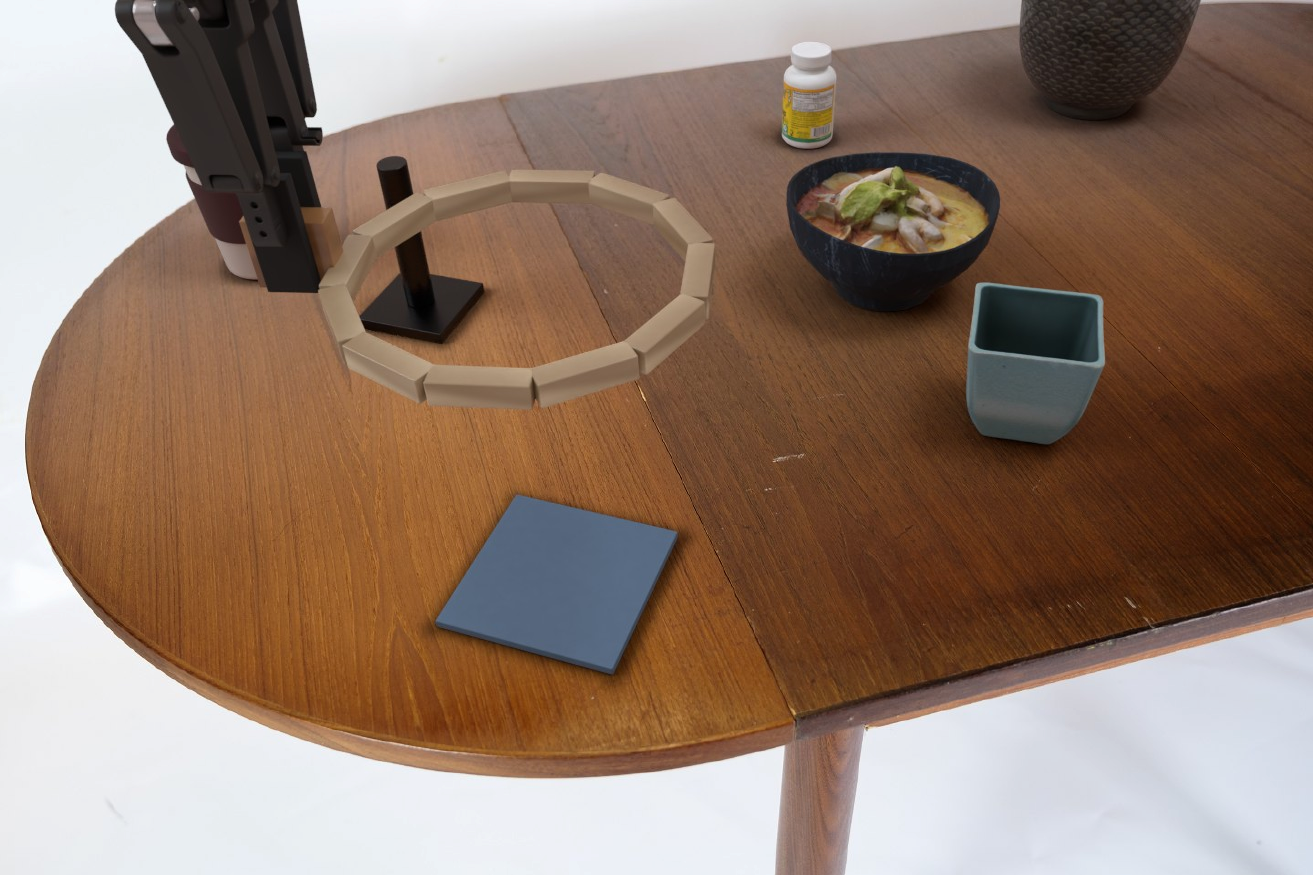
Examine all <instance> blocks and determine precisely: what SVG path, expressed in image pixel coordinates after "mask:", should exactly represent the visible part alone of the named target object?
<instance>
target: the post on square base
mask: <svg viewBox="0 0 1313 875" xmlns="http://www.w3.org/2000/svg"><path fill="white" fill-rule="evenodd" d="M375 167H376V170H377V176H378V179H379V184H380V188H381V192H382V197H383V198H382V199H383V202H384V207H385V211H386V210H388V209H389V208H391V207H393V206H395V205H396V204H398V203H400V202H401V201H403V200H405V199H406V198H408V197H410V196H411V195H413V194H415V193H414V189H413V184H412V178H411V173H410V169H409V164H408V160H407V159H406V157H403V156H401V155H400V156H399V155H391V156H385V157H382V158H381V159H379V160H378V161H377V162H376V166H375ZM394 252H395V255H396V261H397V265H398V268H399V269H398V270H399V273H398V274H397V276H395V277H394V278H393V280H392V281H391V282H390V283H389V284H388V285H387V286H386V287H385V288H384V289H383V290H382V291H381V292H380V293H379V294H378V295H377V297H375V299H373V301H371V303H369V305H368V306H367V307H366V308H365V309H364V310H363V311H362V312H361V313H360V314H359V317H360V319H361V322H362V324H363V327H364V329H365V330H369V331H374V332H380V333H384V334H390V335H395V336H401V337H405V338H411V339H416V340H420V341H426V342H430V343H435V344H436V343H437V344H443V343H444V342H445V341H446V339H447V338H448V337H449V336H450V334H451V333H453V331H454V330H455V329H456V327H457V326H458V325H459V324H460V323H461V321H462V320H463V319H464V318H465V317H466V315H467V314H468V313H469V312H470V311H471V309H472V308H473V307H474V305H476V303H477V302H478V301H479V299H480V298H481V297H482V296H483V295H484V293H485V288H484V283H483V282H480V281H473V280H468V279H462V278H457V277H451V276H445V275H438V274H434V273H430V272H431V271H430V268H429V263H428V258H427V252H426V248H425V243H424V238H423V232H422V231H420V232H418V233H417V234H415V235H414V236H412V237H410V238H409V239H407V240H406V241H404V242H402V243H401V244H399V245H398V246H396V247H394Z"/></svg>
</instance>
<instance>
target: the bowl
mask: <svg viewBox="0 0 1313 875" xmlns="http://www.w3.org/2000/svg"><path fill="white" fill-rule="evenodd" d="M1000 195H1001V194H1000V192H999V188H998V186H997V184H996V183H995V182H994V181H993V179H992V178H991V177H989V176H988V175H987V173H985V171H983V170H981V169H980V168H978V167H976V166H975V165H973V164H970V163H968V162H965V161H962V160H959V159H957V158H956V159H955V158H953V157H948V156H941V155H935V154H929V153H917V152H902V151H901V152H900V151H899V152H896V151H895V152H890V151H889V152H883V151H882V152H878V151H877V152H875V151H874V152H859V153H858V152H857V153H850V154H844V155H838V156H833V157H829V158H823V159H821V160H819V161H816V162H813V163H811V164H808V165H806V166H804V167H803V168H801V169H800V170H798V171H797V172H796V173H795V174H793V176H791V179H790V180H789V181H788V183H787V186H786V197H785V198H786V200H785V201H786V203H785V204H786V212H787V218H788V224H789V230H790V231H791V234H792V236H793V238H794V241H795V243H796V245H797V247H798V249H799V251H800V252H801V254H802V256H803V258H805V259H806V260H807V262H808V263H809V264H810V265H811V266H812V268H814V270H816V271H817V272H818V273H819V275H821V277H822V278H824V279H825V280H826V281H828V282H829V283H831V285H832V287H833V289H834V290H835V292H836V294H838V295H839V297H841V298H842V299H843V300H844V301H845V302H847V303H849V304H851V305H853V306H855V307H858V308H861V309H864V310H868V311H874V312H898V311H905V310H908V309H911V308H916V307H917V306H919V305H920V304H922V303H924V302H925V301H926V300H927V299H928V298H929V297H930V296H931V295H932V293H934V292H935V291H937V290H939V289H940V288H943V287H944V286H946V285H948V284H949V283H950V282H953V281H954V280H955V279H956V278H957V277H959V276H960V275H961V274H963V273H964V272H965V271H967V270H968V269H969V268H970V267H971V266H972V265H973V264H974V263H975V262H976V261H977V259H978V258H979V257H980V256H981V254H982V253H983V252H984V250H985V249H986V248H987V246H988V244H989V242H990V240H991V237H992V235H993V232H994V230H995V227H996V223H997V220H998V218H999V214H1000V209H1001V196H1000Z"/></svg>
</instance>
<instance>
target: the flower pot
mask: <svg viewBox="0 0 1313 875" xmlns="http://www.w3.org/2000/svg"><path fill="white" fill-rule="evenodd" d="M1104 332H1105V331H1104V300H1103V297H1102V296H1101V295H1098V294H1093V293H1086V292H1075V291H1066V290H1057V289H1048V288H1039V287H1028V286H1020V285H1019V286H1018V285H1011V284H1003V283H995V282H978V283H976V285H975V289H974V300H973V308H972V315H971V325H970V331H969V337H968V338H969V339H968V343H967V344H968V345H967V363H966V385H965V396H966V397H965V398H966V406H967V411H968V414H969V416H970V419H971V421H972V423H973V425H974V426H975V428H976V430H977V431H978V433H979V434H981V435H982V436H985V437H990V438H991V437H992V438H999V439H1004V440H1005V439H1007V440H1013V441H1020V442H1027V443H1034V444H1041V445H1051V444H1053V443H1055V442H1057V441H1058V440H1060V439H1062V438H1063V437H1064V436H1066V435H1067V434H1068V433H1069V432H1070V431H1072V429H1074V428H1075V426H1077V424H1078V423H1079V421H1080V420H1081V418H1082V417H1083V415H1084V414H1085V411H1086V410H1087V407H1088V405H1089V402H1090V400H1091V398H1092V396H1093V393H1094V391H1095V389H1096V386H1097V384H1098V381H1099V379H1100V377H1101V375H1102V372H1103V370H1104V368H1105V366H1106V354H1105V353H1106V352H1105V338H1104Z"/></svg>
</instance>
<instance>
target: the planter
mask: <svg viewBox="0 0 1313 875" xmlns="http://www.w3.org/2000/svg"><path fill="white" fill-rule="evenodd" d="M1201 2H1202V0H1021V3H1020V12H1019V32H1018V37H1019V40H1018V42H1019V44H1018V45H1019V52H1020V58H1021V63H1022V67H1023V70H1024V73H1025V74H1026V76H1027V78H1028V79H1029V81H1030V82H1031V84H1032V85H1033V87H1035V88H1036V90H1037V91H1038V92H1040V93H1041V97H1042V100H1043V102H1044V103H1045V105H1046V106H1047V107H1048V108H1049V109H1051V110H1052V112H1055V113H1056V114H1059V115H1062V116H1065V117H1069V118H1073V119H1078V120H1087V121H1101V120H1110V119H1114V118H1118V117H1120V116H1122V115H1124V114H1125V113H1127V112H1128V111H1129V110H1130V109H1131V108H1132V106H1133V105H1134V104H1135V103H1138V102H1140V101H1142V100H1143V99H1145V98H1146V97H1148V96H1149V95H1150V94H1152V93H1153V92H1154V91H1156V90H1157V89H1158V88H1159V87H1160V86H1161V85H1162V84H1163V83H1164V81H1166V79H1167V78H1168V77H1169V75H1170V74H1171V72H1172V71H1173V70H1174V68H1175V67H1176V64H1177V63H1178V60H1179V58H1180V57H1181V54H1182V53H1183V50H1184V47H1185V45H1186V42H1187V40H1188V38H1189V36H1190V32H1191V30H1192V27H1193V24H1194V22H1195V19H1196V16H1197V13H1198V10H1199V7H1200V4H1201Z"/></svg>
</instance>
